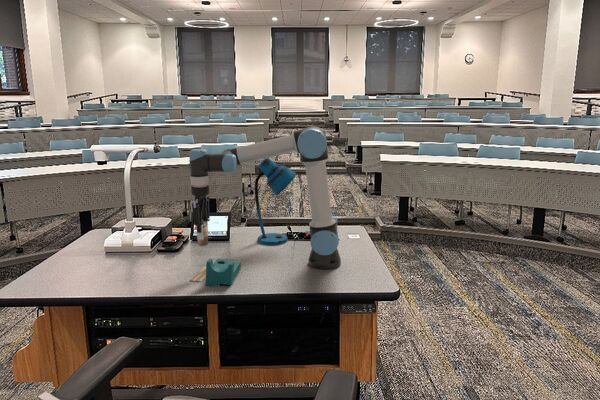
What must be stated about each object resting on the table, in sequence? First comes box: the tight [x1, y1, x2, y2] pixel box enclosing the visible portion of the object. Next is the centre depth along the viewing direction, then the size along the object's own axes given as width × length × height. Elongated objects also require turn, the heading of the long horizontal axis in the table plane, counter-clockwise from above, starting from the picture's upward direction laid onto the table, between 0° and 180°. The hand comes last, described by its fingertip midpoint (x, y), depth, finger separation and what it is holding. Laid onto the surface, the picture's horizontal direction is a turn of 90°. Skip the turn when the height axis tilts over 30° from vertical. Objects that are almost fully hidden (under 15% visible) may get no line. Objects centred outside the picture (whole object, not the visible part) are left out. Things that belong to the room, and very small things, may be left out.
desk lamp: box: [254, 157, 297, 246], centre depth 256 cm, size 16×22×45 cm
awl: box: [197, 219, 209, 247], centre depth 212 cm, size 4×4×11 cm
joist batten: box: [189, 266, 206, 283], centre depth 215 cm, size 5×16×1 cm, turn 168°
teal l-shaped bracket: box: [205, 258, 242, 287], centre depth 210 cm, size 18×11×10 cm, turn 174°
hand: (202, 237), depth 213 cm, fingers closed on awl, 4 cm apart
